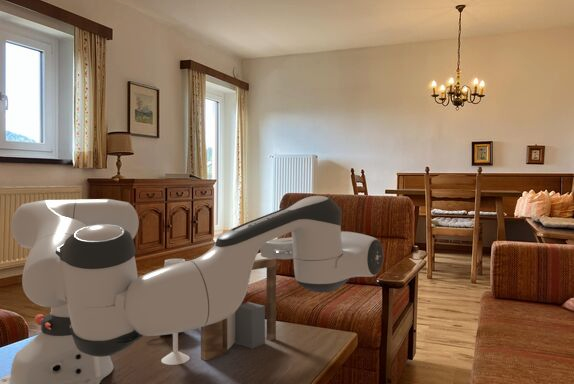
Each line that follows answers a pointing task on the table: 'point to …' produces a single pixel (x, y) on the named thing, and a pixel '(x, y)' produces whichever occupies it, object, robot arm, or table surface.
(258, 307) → the doorstop
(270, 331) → the door frame
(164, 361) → the champagne flute
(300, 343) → the table surface
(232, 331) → the door
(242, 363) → the table surface
